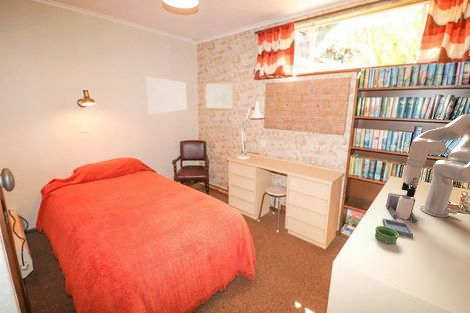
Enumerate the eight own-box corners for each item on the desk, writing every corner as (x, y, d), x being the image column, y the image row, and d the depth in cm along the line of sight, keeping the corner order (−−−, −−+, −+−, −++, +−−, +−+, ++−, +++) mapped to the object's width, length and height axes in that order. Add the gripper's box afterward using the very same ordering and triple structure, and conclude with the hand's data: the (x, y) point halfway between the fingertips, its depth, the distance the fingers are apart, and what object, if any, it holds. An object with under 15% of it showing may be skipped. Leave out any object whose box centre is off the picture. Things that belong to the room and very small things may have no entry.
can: (411, 220, 122) (417, 200, 119) (398, 218, 123) (403, 198, 120) (405, 214, 128) (410, 195, 125) (392, 213, 129) (397, 194, 126)
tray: (406, 226, 115) (407, 223, 115) (412, 237, 106) (413, 234, 105) (382, 221, 119) (383, 218, 119) (386, 231, 110) (387, 228, 109)
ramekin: (369, 236, 106) (371, 227, 105) (382, 232, 110) (383, 224, 108) (388, 247, 98) (390, 238, 97) (401, 243, 102) (403, 234, 101)
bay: (409, 210, 133) (413, 196, 131) (418, 223, 119) (422, 208, 116) (385, 206, 138) (388, 192, 135) (391, 218, 123) (394, 203, 121)
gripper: (402, 158, 127) (395, 186, 131) (411, 165, 111) (403, 197, 115) (418, 160, 124) (410, 189, 128) (430, 168, 108) (421, 200, 113)
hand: (407, 193), depth 122 cm, fingers open, 9 cm apart
